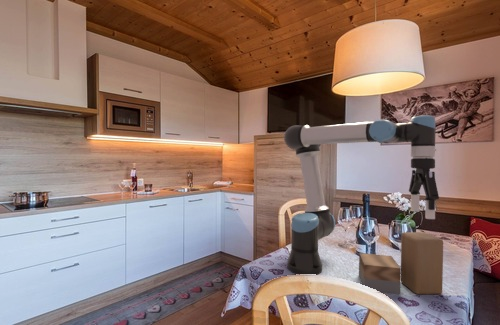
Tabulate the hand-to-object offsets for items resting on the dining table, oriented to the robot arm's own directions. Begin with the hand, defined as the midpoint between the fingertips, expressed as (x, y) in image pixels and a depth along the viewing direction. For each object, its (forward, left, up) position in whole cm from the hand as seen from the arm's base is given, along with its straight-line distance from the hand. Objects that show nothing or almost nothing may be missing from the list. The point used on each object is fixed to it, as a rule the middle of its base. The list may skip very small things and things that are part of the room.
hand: (422, 214), depth 98 cm
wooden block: (0, 0, -28) cm, 28 cm away
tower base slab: (-15, -1, -28) cm, 32 cm away
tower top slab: (-15, -1, -23) cm, 28 cm away
